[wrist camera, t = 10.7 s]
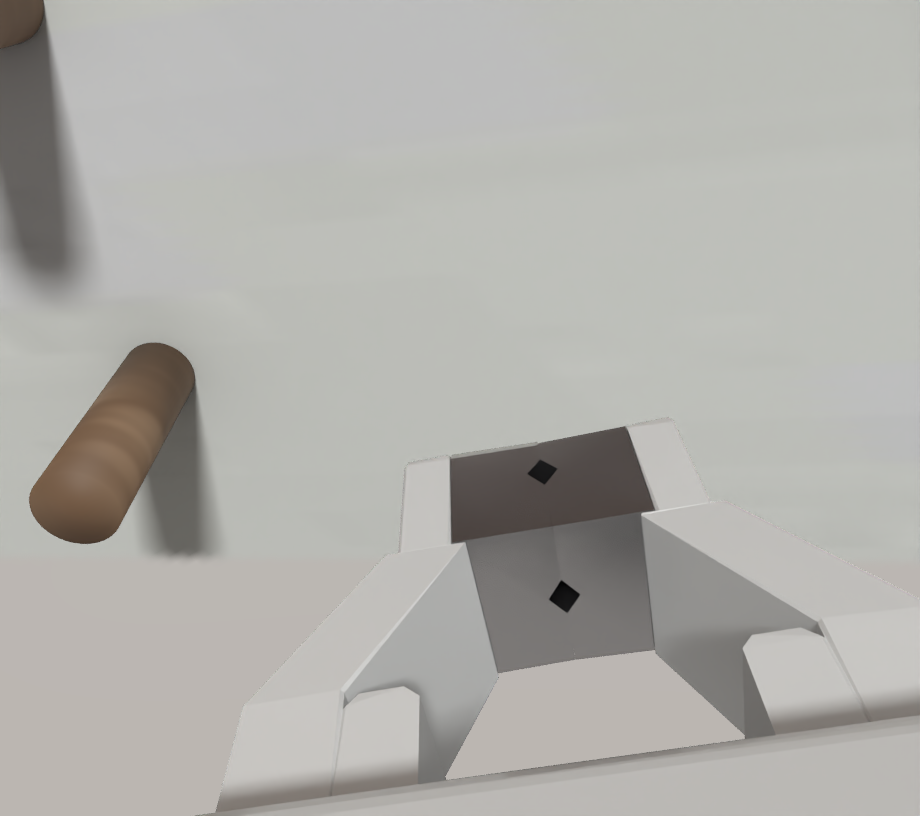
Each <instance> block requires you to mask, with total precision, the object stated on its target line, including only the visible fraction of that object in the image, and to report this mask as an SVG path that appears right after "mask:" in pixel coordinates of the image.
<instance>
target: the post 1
mask: <svg viewBox="0 0 920 816" xmlns="http://www.w3.org/2000/svg"><path fill="white" fill-rule="evenodd" d="M43 9H44V7H43V0H0V49H2V48H5V47H9V46H12V45H15V44H19V43H22V42H24V41H26V40H28V39H30V38H31V37H32V36H33V35H34V34H35V33H36V32H37V30H38V29H39V27H40V25H41V22H42V19H43Z"/></svg>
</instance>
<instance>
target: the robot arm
mask: <svg viewBox="0 0 920 816" xmlns="http://www.w3.org/2000/svg"><path fill="white" fill-rule="evenodd" d="M573 648H574V649H573ZM649 650H655V651H656V654H657V655H658V656H659V657H660V658H661V659H662V660H664V661H665V662H666V663H667V664H668V665H669V666H670V667H671V668H672V669H673V670H674V671H675V672H677V673H678V674H679V675H680V676H681V677H682V678H683V679H684V680H685V681H686V682H688V683H689V684H690V685H691V686H692V687H693V688H694V689H695V690H696V691H697V692H698V693H699V694H701V695H702V696H703V697H704V698H705V699H706V700H707V701H708V702H709V703H710V704H712V705H713V706H714V707H715V708H716V709H717V710H718V711H719V712H720V713H721V714H722V715H723V716H725V717H726V718H727V719H728V720H729V721H730V722H731V723H732V724H733V725H734V726H735V727H737V728H738V729H739V730H740V731H741V732H742V733H743V734H744V735H745V739H742V740H735V741H728V742H720V743H713V744H706V745H698V746H691V747H684V748H677V749H669V750H662V751H655V752H647V753H641V754H633V755H626V756H619V757H611V758H605V759H597V760H589V761H582V762H575V763H568V764H560V765H553V766H546V767H538V768H531V769H524V770H517V771H510V772H502V773H495V774H488V775H481V776H473V777H466V778H459V779H452V780H446V778H445V776H446V774H447V772H448V770H449V768H450V767H451V764H452V763H453V761H454V759H455V757H456V755H457V754H458V752H459V750H460V748H461V746H462V744H463V743H464V741H465V739H466V737H467V735H468V733H469V731H470V730H471V728H472V726H473V724H474V722H475V720H476V718H477V717H478V715H479V713H480V711H481V709H482V707H483V705H484V704H485V702H486V700H487V698H488V696H489V694H490V692H491V691H492V689H493V687H494V685H495V683H496V681H497V680H498V678H499V677H498V673H502V672H507V671H513V670H519V669H524V668H530V667H535V666H541V665H547V664H552V663H558V662H563V661H569V660H575V659H584V658H592V657H600V656H608V655H617V654H625V653H633V652H641V651H649ZM574 653H575V655H574ZM196 816H920V599H919V598H918V597H916V596H914V595H912V594H910V593H908V592H906V591H903V590H901V589H900V588H898V587H895V586H894V585H892V584H890V583H888V582H886V581H884V580H882V579H880V578H878V577H876V576H874V575H872V574H870V573H868V572H866V571H864V570H862V569H860V568H858V567H856V566H854V565H852V564H850V563H848V562H846V561H844V560H842V559H841V558H839V557H837V556H835V555H833V554H831V553H829V552H827V551H825V550H823V549H821V548H819V547H817V546H815V545H813V544H811V543H809V542H807V541H805V540H803V539H801V538H799V537H797V536H795V535H793V534H791V533H789V532H787V531H785V530H783V529H781V528H779V527H777V526H775V525H773V524H771V523H769V522H767V521H765V520H764V519H762V518H760V517H758V516H756V515H754V514H752V513H750V512H748V511H746V510H744V509H742V508H740V507H738V506H736V505H734V504H732V503H730V502H728V501H726V500H721V501H715V502H711V500H710V498H709V496H708V494H707V492H706V489H705V487H704V485H703V483H702V481H701V479H700V476H699V474H698V472H697V470H696V468H695V466H694V464H693V461H692V459H691V457H690V455H689V453H688V451H687V448H686V446H685V444H684V442H683V440H682V438H681V435H680V433H679V431H678V429H677V427H676V425H675V422H674V420H672V419H670V418H669V417H665V418H661V419H656V420H651V421H646V422H641V423H637V424H632V425H627V426H624V427H619V428H614V429H609V430H604V431H599V432H593V433H588V434H583V435H578V436H573V437H568V438H563V439H557V440H552V441H547V442H542V443H538V442H534V443H527V444H521V445H514V446H507V447H501V448H494V449H487V450H481V451H474V452H468V453H461V454H454V455H452V456H451V457H450V456H449V455H446V456H440V457H435V458H429V459H424V460H418V461H413V462H408V464H407V466H406V467H405V469H404V482H403V495H402V509H401V523H400V536H399V550H398V553H394V554H388V555H385V556H384V557H383V558H382V559H381V560H380V562H379V563H378V564H377V565H376V566H375V567H374V568H373V569H372V570H371V571H370V572H369V573H368V574H367V576H366V577H364V579H363V580H362V581H361V582H360V583H359V584H358V585H357V586H356V587H355V588H354V589H353V590H352V591H351V592H350V593H349V594H348V596H347V597H346V598H345V599H344V600H343V601H342V602H341V603H340V604H339V605H338V606H337V607H336V608H335V609H334V610H333V612H331V614H330V615H329V616H328V617H327V618H326V619H325V620H324V621H323V622H322V623H321V624H320V625H319V626H318V627H317V628H316V629H315V631H314V632H313V633H312V634H311V635H310V636H309V637H308V638H307V639H306V640H305V641H304V642H303V643H302V645H300V647H299V648H298V649H297V650H296V651H295V652H294V653H293V654H292V655H291V656H290V657H289V658H288V659H287V660H286V662H284V663H283V665H282V666H281V667H280V668H279V669H278V670H277V671H276V672H275V673H274V674H273V675H272V676H271V677H270V678H269V679H268V680H267V681H266V683H265V684H264V685H263V686H262V687H261V688H260V689H259V690H258V691H257V692H256V693H255V694H254V695H253V696H252V697H251V699H250V700H249V701H248V702H247V703H246V704H245V705H244V706H243V708H242V712H241V716H240V720H239V724H238V728H237V732H236V735H235V739H234V743H233V747H232V751H231V755H230V759H229V762H228V766H227V770H226V774H225V778H224V782H223V785H222V790H221V793H220V797H219V801H218V805H217V809H216V813H211V814H203V815H196Z"/></svg>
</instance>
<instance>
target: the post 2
mask: <svg viewBox="0 0 920 816" xmlns="http://www.w3.org/2000/svg"><path fill="white" fill-rule="evenodd" d="M194 381H195V375H194V371H193V368H192V366H191V364H190V362H189V361H188V359H187V358H186V357H185V356H184V355H183V354H182V353H181V352H179V351H178V350H176V349H175V348H173V347H171V346H168V345H165V344H161V343H146V344H142V345H140V346H138V347H136V348H134V349H133V350H132V351H131V352H130V353H129V354H128V356H127V357H126V358H125V360H124V361H123V363H122V364H121V365H120V367H119V368H118V370H117V371H116V372H115V374H114V375H113V376H112V378H111V379H110V381H109V382H108V383H107V385H106V386H105V388H104V389H103V390H102V392H101V393H100V395H99V396H98V397H97V399H96V400H95V402H94V403H93V404H92V406H91V407H90V408H89V410H88V411H87V413H86V414H85V415H84V417H83V418H82V420H81V421H80V422H79V424H78V425H77V427H76V428H75V429H74V431H73V432H72V434H71V435H70V436H69V438H68V439H67V440H66V442H65V443H64V445H63V446H62V447H61V449H60V450H59V452H58V453H57V454H56V456H55V457H54V459H53V460H52V461H51V463H50V464H49V465H48V467H47V468H46V470H45V471H44V472H43V474H42V475H41V477H40V478H39V479H38V481H37V482H36V484H35V485H34V486H33V488H32V490H31V493H30V497H29V504H30V508H31V512H32V514H33V516H34V517H35V519H36V520H37V522H38V523H39V524H40V525H41V526H42V527H43V528H44V529H45V530H47V531H48V532H49V533H51V534H52V535H54V536H56V537H58V538H60V539H63V540H65V541H69V542H73V543H80V544H91V543H97V542H100V541H103V540H105V539H107V538H109V537H110V536H112V535H113V534H114V533H115V532H116V531H117V529H118V528H119V526H120V524H121V522H122V520H123V518H124V516H125V515H126V513H127V511H128V509H129V507H130V505H131V503H132V501H133V500H134V498H135V496H136V494H137V492H138V490H139V488H140V486H141V484H142V483H143V481H144V479H145V477H146V475H147V473H148V471H149V469H150V468H151V466H152V464H153V462H154V460H155V458H156V456H157V454H158V453H159V451H160V449H161V447H162V445H163V443H164V441H165V439H166V437H167V436H168V434H169V432H170V430H171V428H172V426H173V424H174V422H175V421H176V419H177V417H178V415H179V413H180V411H181V409H182V407H183V406H184V404H185V402H186V400H187V398H188V396H189V394H190V392H191V390H192V388H193V386H194Z"/></svg>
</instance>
